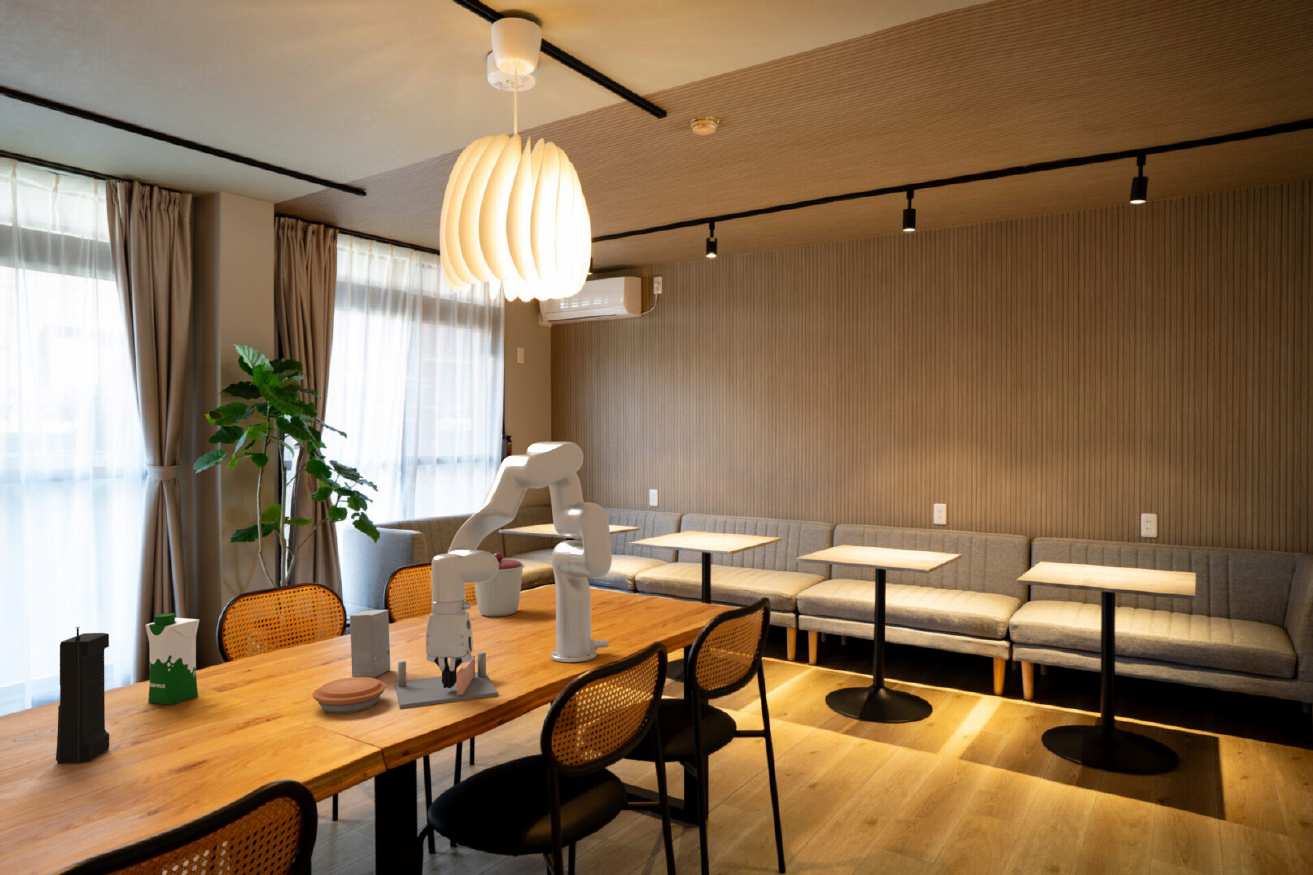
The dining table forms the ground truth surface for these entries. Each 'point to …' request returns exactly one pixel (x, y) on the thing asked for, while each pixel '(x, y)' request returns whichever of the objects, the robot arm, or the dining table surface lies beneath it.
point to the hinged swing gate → (441, 687)
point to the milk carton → (172, 659)
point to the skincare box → (370, 643)
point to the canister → (501, 589)
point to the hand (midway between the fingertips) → (449, 686)
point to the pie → (349, 694)
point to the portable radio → (82, 699)
